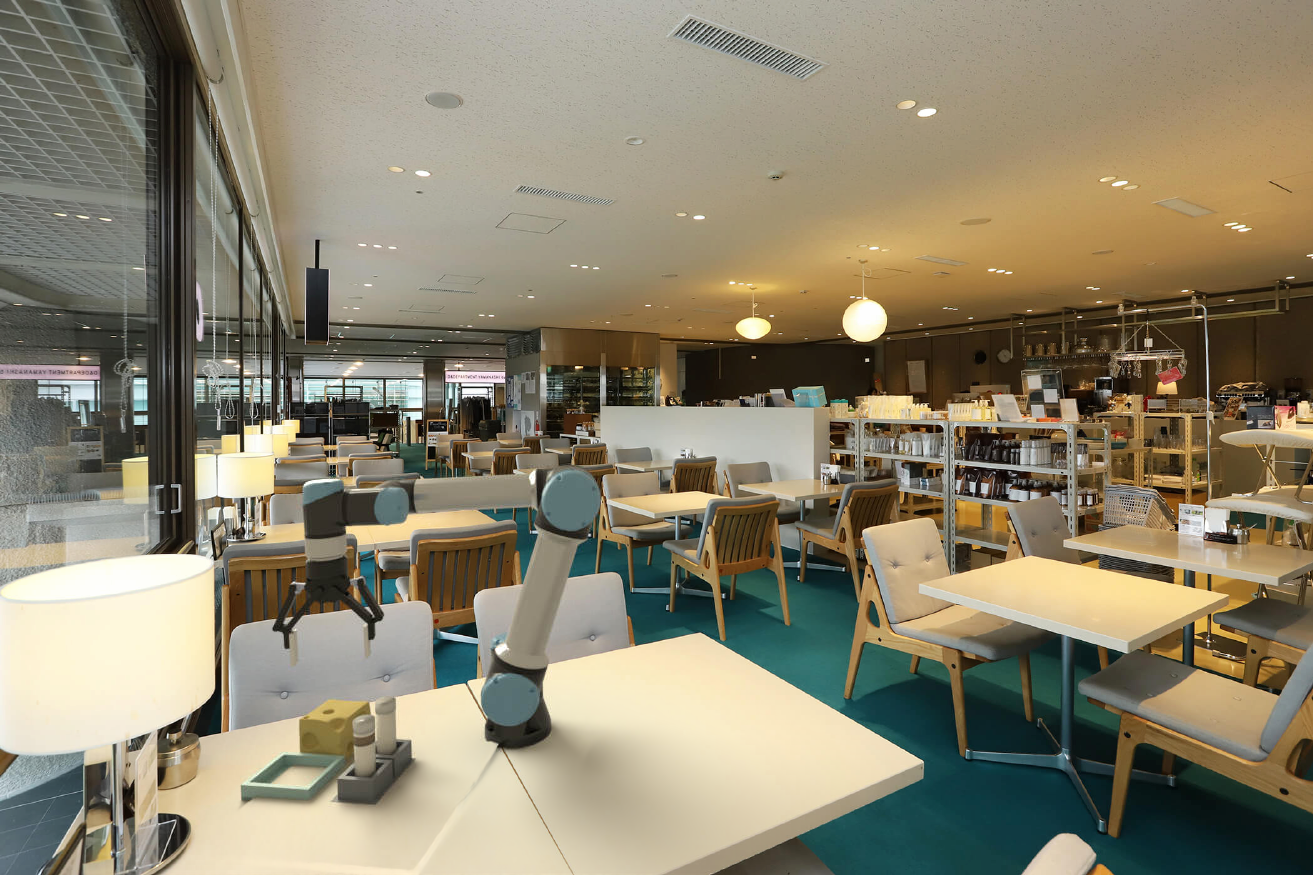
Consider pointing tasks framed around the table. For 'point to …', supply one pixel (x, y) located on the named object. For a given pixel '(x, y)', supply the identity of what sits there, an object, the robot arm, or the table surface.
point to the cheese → (331, 727)
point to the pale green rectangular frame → (276, 767)
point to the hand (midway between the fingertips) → (331, 659)
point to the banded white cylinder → (364, 746)
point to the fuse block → (378, 760)
